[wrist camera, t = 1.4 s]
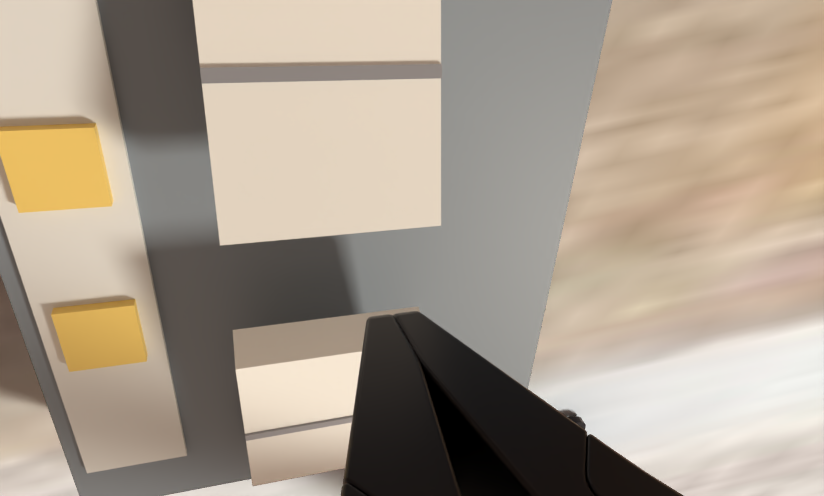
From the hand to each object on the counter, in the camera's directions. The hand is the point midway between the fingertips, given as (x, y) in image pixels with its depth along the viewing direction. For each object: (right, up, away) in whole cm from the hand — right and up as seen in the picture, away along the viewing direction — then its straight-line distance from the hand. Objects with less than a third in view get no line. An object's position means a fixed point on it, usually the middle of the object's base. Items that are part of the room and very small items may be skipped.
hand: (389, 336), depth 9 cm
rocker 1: (-2, +5, +4) cm, 7 cm away
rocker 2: (-2, -3, +9) cm, 10 cm away
